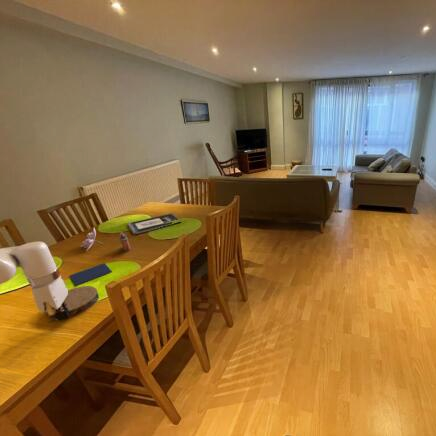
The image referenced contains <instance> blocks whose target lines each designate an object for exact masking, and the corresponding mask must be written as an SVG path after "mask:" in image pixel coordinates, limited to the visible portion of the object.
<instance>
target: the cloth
mask: <svg viewBox="0 0 436 436" xmlns="http://www.w3.org/2000/svg"><path fill="white" fill-rule="evenodd" d="M112 272H113V271H112V270H111V269H110V267H109V266H108V265H107V264H106V263H105V262H102V263H100V264H98V265H95V266H92V267H89V268H86V269H84V270H80V271H78V272H75V273H72V274H70V275H69V277H70V278H71V280H72V282H73V285H74V286H75V287H79V286H81V285H83V284H86V283H88V282H91V281H93V280H95V279H98V278H100V277H104V276H105V275H108V274H111V273H112Z"/></svg>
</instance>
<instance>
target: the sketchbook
mask: <svg viewBox="0 0 436 436" xmlns="http://www.w3.org/2000/svg"><path fill="white" fill-rule="evenodd" d="M178 219H179V218H178V217H176V216H175V215H174V214H173V213H167V214H164V215H159V216H154V217H149V218H146V219H145V218H144V219H140V220H135V221H132V222H128V223H127V224H126V225H127V227H128V228H129V229H130V231H131V232H132V234H133V235H139V234H142V233H146V232H150V231H155V230H159V229H162V228H164V227H163V226H166V227H168V226H167V225H170V224H172V221H174V220H178ZM170 226H171V225H170ZM160 227H162V228H160ZM157 228H158V229H157ZM154 229H155V230H154Z"/></svg>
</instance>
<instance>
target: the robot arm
mask: <svg viewBox="0 0 436 436" xmlns="http://www.w3.org/2000/svg"><path fill="white" fill-rule="evenodd" d="M17 268H20V269H21V271H22V272H23V274H24V276H25V278H26V280H27V282H28V283H29V286H30V288H31V292H32V296H33V299H34V303H35V304H36V307H37V309H38V311H39V313H41V314H44V313H46V312H45V310H46V309H47V311H48V314H49V316H50V315H54V314H55V316H56V318H57V320H56V321H58V322H61V321H64V320H65V321H66V320H69V319H70V318H71V317H70V313H69V311H68V308H67V304H66V301H65V298H66V297H67V295H68V290H69V289H68V288H67V285H66V283H65V281H64V280H63V278H62V275H61V273H60V271H59V269H58V266H57V264H56V262H55V260H54V257H53V255H52V253H51V250H50V249H49V247H48V244H47V243H45V242H43V241H32V242H27V243H24V244H21V245H17V246H9V247H2V248H0V285H2V284H5V283H7V282H9V281H10V280H12V279H13V278H14V277H15V275H16V272H17ZM69 317H70V318H69Z"/></svg>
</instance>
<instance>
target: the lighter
mask: <svg viewBox="0 0 436 436" xmlns="http://www.w3.org/2000/svg"><path fill="white" fill-rule="evenodd" d="M119 234H120V235H119V240H120V244H121V246H122V250H123V251H124V252H125V253H128V252H131V251H132V248H131V246H130V242H129V238H128V236H127V235H126V234H125V233H124V232H123V231H122V232H120V233H119Z"/></svg>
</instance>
